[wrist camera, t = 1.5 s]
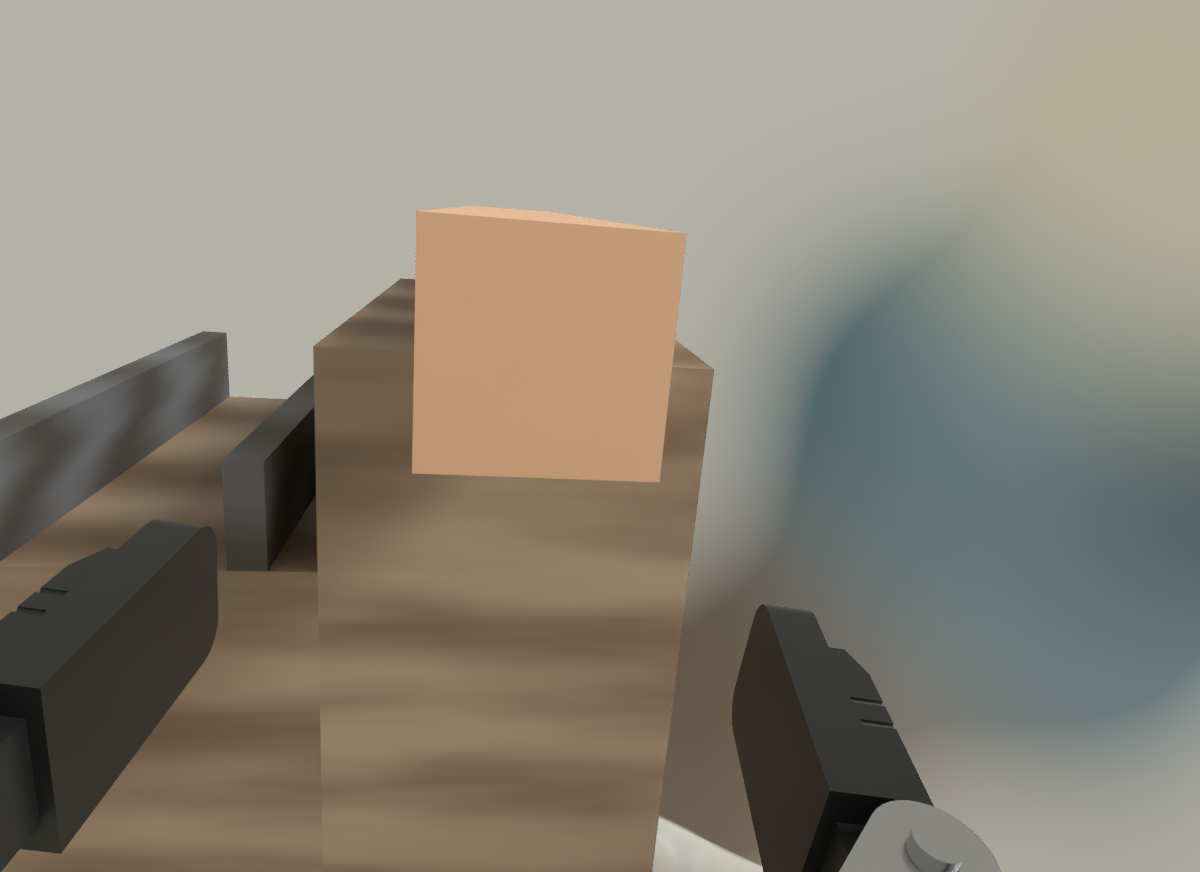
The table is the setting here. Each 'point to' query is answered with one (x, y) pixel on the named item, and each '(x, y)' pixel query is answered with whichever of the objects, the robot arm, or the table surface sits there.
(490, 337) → the bar
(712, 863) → the table surface
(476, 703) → the wooden knife block
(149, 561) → the robot arm
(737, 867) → the table surface
